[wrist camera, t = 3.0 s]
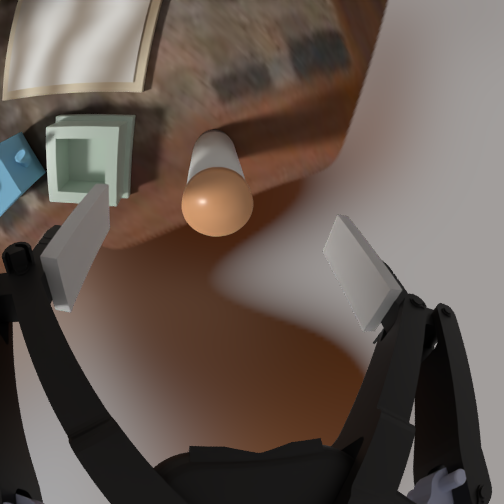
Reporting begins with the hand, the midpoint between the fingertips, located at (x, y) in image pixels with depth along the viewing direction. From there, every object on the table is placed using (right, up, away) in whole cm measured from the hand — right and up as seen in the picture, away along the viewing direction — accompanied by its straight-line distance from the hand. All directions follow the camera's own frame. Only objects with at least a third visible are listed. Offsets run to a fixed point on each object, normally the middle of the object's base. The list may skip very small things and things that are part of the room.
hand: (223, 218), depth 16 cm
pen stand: (-15, +9, +10) cm, 20 cm away
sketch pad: (-16, +20, +2) cm, 26 cm away
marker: (-2, +9, +12) cm, 15 cm away
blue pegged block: (-25, +9, +9) cm, 28 cm away
